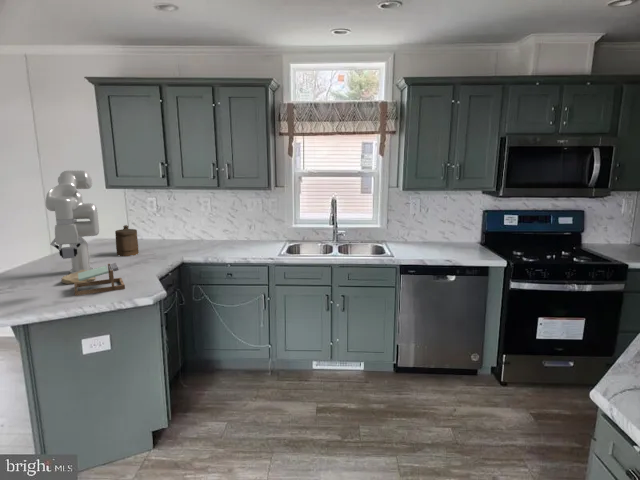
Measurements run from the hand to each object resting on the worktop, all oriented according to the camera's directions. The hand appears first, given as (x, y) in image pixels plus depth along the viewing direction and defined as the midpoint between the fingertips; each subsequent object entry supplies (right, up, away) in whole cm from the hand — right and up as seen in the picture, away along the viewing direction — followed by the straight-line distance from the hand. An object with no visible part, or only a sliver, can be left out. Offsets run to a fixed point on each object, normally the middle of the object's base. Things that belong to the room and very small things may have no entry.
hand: (68, 256), depth 208 cm
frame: (+11, -18, +9) cm, 23 cm away
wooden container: (-13, -2, +91) cm, 92 cm away
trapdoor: (+11, -9, +8) cm, 17 cm away
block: (0, -1, 0) cm, 1 cm away
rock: (-6, -16, +22) cm, 28 cm away
